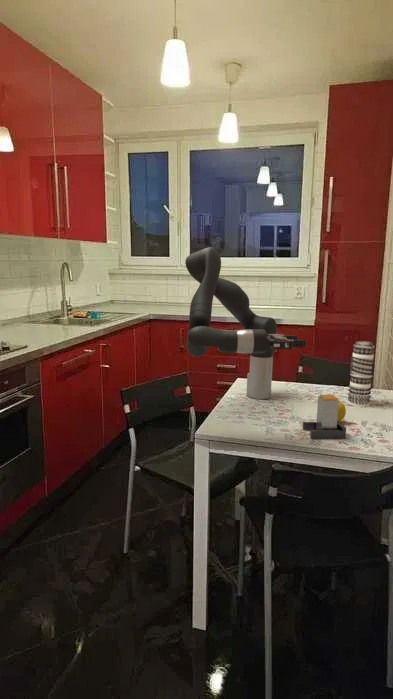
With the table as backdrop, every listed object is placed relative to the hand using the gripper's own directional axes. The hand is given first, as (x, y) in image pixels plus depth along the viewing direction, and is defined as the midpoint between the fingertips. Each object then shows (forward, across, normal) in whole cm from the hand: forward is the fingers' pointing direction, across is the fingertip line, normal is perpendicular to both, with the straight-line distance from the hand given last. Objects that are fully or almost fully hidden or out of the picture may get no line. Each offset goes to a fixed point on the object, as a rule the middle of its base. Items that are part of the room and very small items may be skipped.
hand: (300, 341), depth 144 cm
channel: (+8, -2, +30) cm, 32 cm away
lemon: (+17, +9, +31) cm, 36 cm away
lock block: (+10, -2, +30) cm, 32 cm away
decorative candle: (+35, +30, +31) cm, 56 cm away
